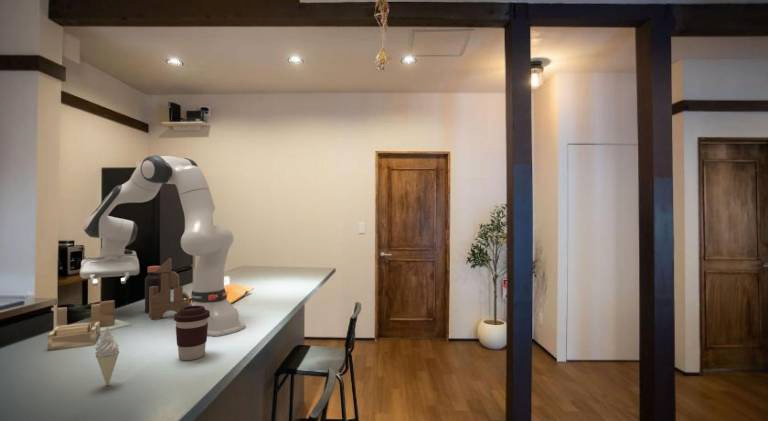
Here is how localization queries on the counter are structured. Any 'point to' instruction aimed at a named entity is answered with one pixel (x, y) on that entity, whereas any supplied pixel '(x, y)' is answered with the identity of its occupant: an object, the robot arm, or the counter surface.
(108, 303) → the block
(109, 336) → the ice cream cone
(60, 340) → the tan piece
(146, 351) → the counter surface
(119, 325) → the pad
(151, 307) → the wooden toy
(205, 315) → the coffee cup
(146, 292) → the bottle
